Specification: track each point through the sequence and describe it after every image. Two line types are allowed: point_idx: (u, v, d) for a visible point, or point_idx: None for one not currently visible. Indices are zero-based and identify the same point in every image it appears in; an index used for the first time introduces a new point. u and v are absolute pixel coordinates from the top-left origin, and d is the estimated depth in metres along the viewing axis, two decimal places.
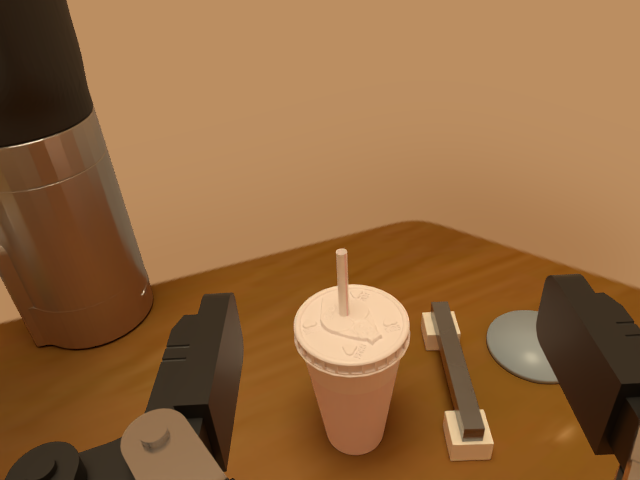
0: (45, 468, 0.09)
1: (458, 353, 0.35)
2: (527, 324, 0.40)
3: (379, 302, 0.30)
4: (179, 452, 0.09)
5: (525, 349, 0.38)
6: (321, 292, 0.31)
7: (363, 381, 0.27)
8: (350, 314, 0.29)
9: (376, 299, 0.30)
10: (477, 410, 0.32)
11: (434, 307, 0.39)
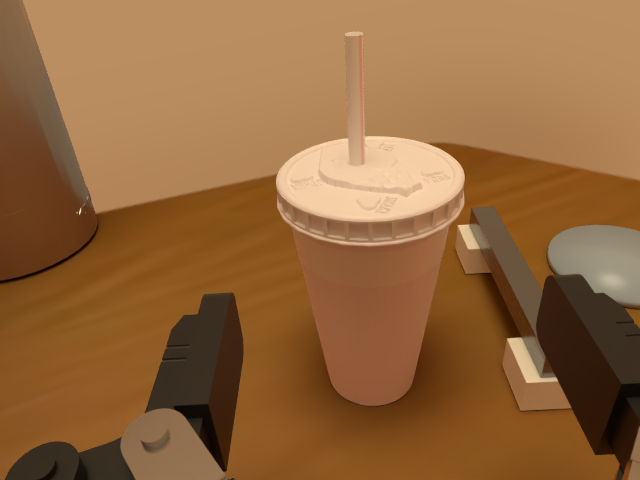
0: (45, 468, 0.09)
1: (519, 262, 0.24)
2: (601, 240, 0.29)
3: (411, 152, 0.19)
4: (179, 452, 0.09)
5: (605, 267, 0.27)
6: (320, 146, 0.20)
7: (392, 260, 0.16)
8: (367, 163, 0.18)
9: (406, 150, 0.19)
10: None
11: (476, 213, 0.28)
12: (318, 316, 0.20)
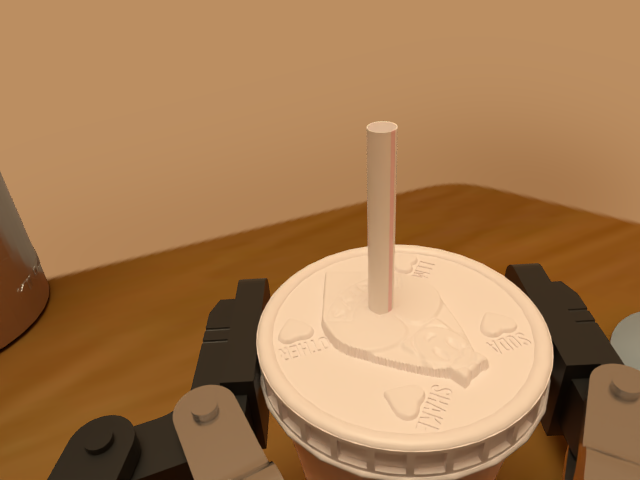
0: (103, 440, 0.09)
1: None
2: None
3: (460, 280, 0.13)
4: (230, 425, 0.10)
5: None
6: (323, 262, 0.14)
7: None
8: (396, 308, 0.12)
9: (451, 274, 0.13)
10: None
11: None
12: None
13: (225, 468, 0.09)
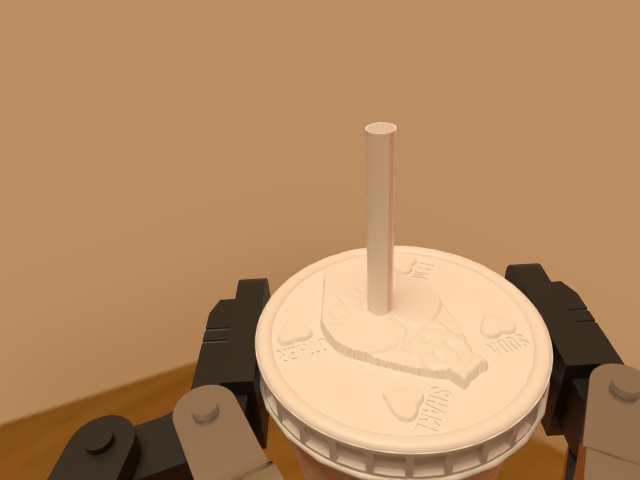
0: (103, 440, 0.09)
1: None
2: None
3: (459, 281, 0.13)
4: (230, 425, 0.10)
5: None
6: (322, 263, 0.14)
7: None
8: (395, 309, 0.12)
9: (451, 275, 0.13)
10: None
11: None
12: None
13: (225, 468, 0.09)
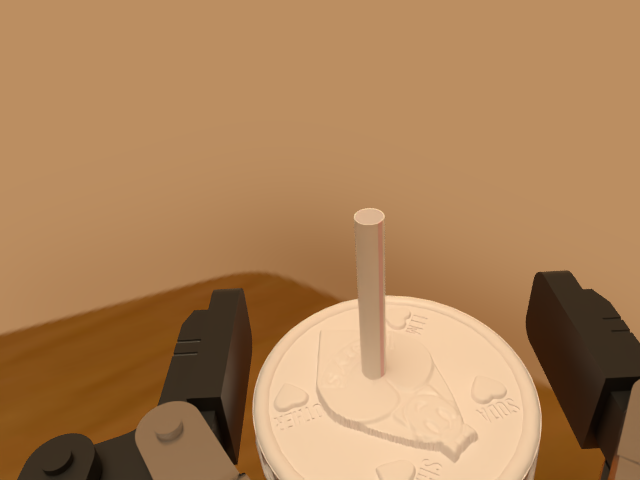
0: (61, 459, 0.09)
1: None
2: None
3: (452, 337, 0.13)
4: (193, 443, 0.09)
5: None
6: (318, 316, 0.14)
7: None
8: (389, 372, 0.12)
9: (444, 330, 0.13)
10: None
11: None
12: None
13: None
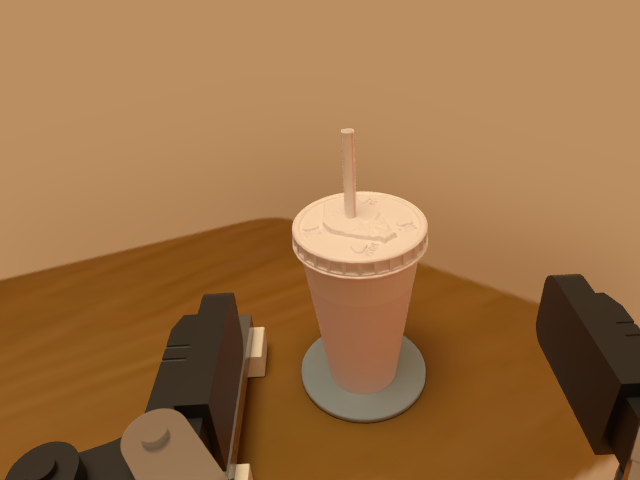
0: (45, 468, 0.09)
1: None
2: None
3: (390, 206, 0.26)
4: (179, 452, 0.09)
5: None
6: (323, 199, 0.27)
7: (376, 287, 0.23)
8: (357, 216, 0.25)
9: (387, 203, 0.26)
10: None
11: None
12: (322, 326, 0.26)
13: None
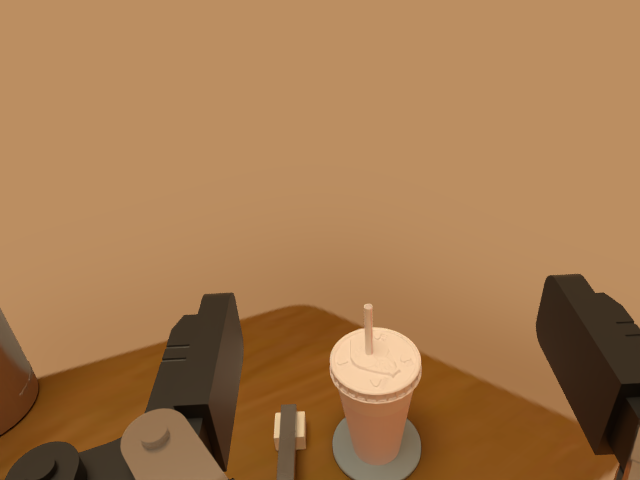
0: (45, 468, 0.09)
1: (290, 462, 0.38)
2: None
3: (396, 342, 0.38)
4: (179, 452, 0.09)
5: None
6: (349, 334, 0.39)
7: (387, 406, 0.35)
8: (374, 353, 0.37)
9: (393, 339, 0.38)
10: None
11: (282, 410, 0.42)
12: (349, 423, 0.38)
13: None
